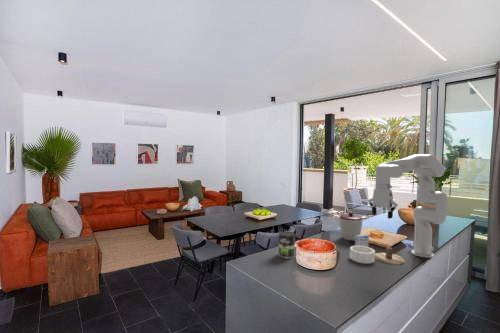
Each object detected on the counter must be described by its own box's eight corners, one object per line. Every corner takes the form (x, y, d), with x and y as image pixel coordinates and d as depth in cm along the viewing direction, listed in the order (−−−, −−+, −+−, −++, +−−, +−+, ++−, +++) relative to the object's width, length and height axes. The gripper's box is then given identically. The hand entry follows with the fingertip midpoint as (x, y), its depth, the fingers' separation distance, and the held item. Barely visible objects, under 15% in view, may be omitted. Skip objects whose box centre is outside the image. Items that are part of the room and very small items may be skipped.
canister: (333, 237, 207) (333, 210, 206) (349, 234, 215) (349, 209, 215) (351, 244, 191) (352, 215, 190) (368, 240, 199) (368, 213, 199)
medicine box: (358, 249, 181) (359, 236, 180) (354, 246, 185) (355, 234, 185) (368, 248, 183) (368, 235, 183) (364, 246, 187) (364, 234, 187)
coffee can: (291, 259, 161) (292, 237, 160) (276, 256, 166) (276, 234, 165) (296, 254, 170) (297, 232, 169) (282, 251, 175) (282, 230, 174)
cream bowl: (359, 253, 172) (360, 244, 172) (379, 260, 160) (379, 251, 160) (345, 257, 166) (345, 247, 165) (364, 265, 153) (364, 255, 153)
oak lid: (384, 252, 175) (384, 242, 175) (410, 261, 160) (410, 250, 160) (368, 257, 167) (368, 246, 166) (393, 267, 152) (394, 255, 152)
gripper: (401, 188, 144) (400, 218, 144) (373, 185, 158) (372, 213, 159) (393, 188, 140) (392, 220, 140) (365, 185, 155) (364, 214, 155)
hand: (381, 216), depth 150 cm, fingers open, 9 cm apart
